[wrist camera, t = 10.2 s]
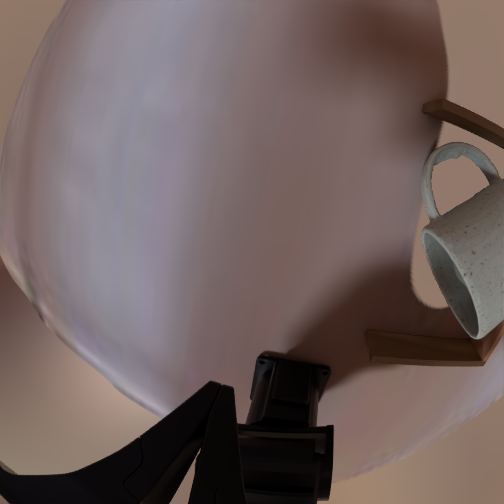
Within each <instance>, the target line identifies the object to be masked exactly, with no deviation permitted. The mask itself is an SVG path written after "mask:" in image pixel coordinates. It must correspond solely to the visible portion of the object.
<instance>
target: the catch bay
mask: <svg viewBox="0 0 504 504" xmlns="http://www.w3.org/2000/svg"><path fill="white" fill-rule="evenodd" d="M423 113H425V114H427V115H430V116H433V117H435V118H438V119H441V120H443V121H446V122H448V123H451V124H453V125H456V126H458V127H460V128H462V129H465V130H467V131H470V132H471V133H474V134H476V135H478V136H480V137H482V138H484V139H486V140H488V141H490V142H492V143H494V144H496V145H498V146H499V147H501V148H503V149H504V129H503V128H502V127H500V126H498V125H496V124H495V123H493V122H491V121H489V120H487V119H486V118H483V117H482V116H480V115H478V114H476V113H474V112H472V111H470V110H467V109H466V108H463V107H461V106H459V105H457V104H454V103H452V102H450V101H448V100H445V99H440V100H436V101H433V102H429V103H426V104H423ZM503 334H504V320H503V321H502V322H500V323H499V324H498V325H497V326H496V327H495V328H493V329H492V330H491V331H490V332H489V333H488V334H486V335H485V336H484V337H483V338H481V339H474V338H472V339H471V340H463V339H449V338H436V337H425V336H415V335H406V334H397V333H388V332H380V331H372V330H368V331H367V333H366V341H367V346H368V351H369V357H370V362H379V363H390V364H403V365H421V366H484V364H485V363H486V361H487V360H488V358H489V357H490V355H491V354H492V352H493V350H494V349H495V347H496V346H497V344H498V342H499V341H500V339H501V337H502V335H503Z"/></svg>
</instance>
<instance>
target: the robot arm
mask: <svg viewBox="0 0 504 504" xmlns="http://www.w3.org/2000/svg"><path fill="white" fill-rule="evenodd" d="M263 361H264V362H263ZM324 371H326V372H324ZM330 374H331V369H330V368H329V367H327V366H321V365H314V364H308V363H301V362H296V361H290V360H284V359H279V358H273V357H268V356H263V355H261V356H258V358H257V360H256V366H255V372H254V377H253V383H252V389H251V394H250V399H251V400H252V402H251V406H250V409H249V413H248V416H247V420H246V423H245V424H239V423H237V418H236V407H235V395H234V388H233V387H231V386H228V385H221V383H218V382H214V381H209V382H208V383H206V384H205V385H204V386H203V387H202V388H200V389H199V390H198V391H197V392H196V393H194V394H193V395H192V396H191V397H190V398H188V399H187V400H186V401H185V402H183V403H182V404H181V405H180V406H178V407H177V408H176V409H175V410H173V411H172V412H171V413H170V414H168V415H167V416H166V417H164V418H163V419H162V420H161V421H159V422H158V423H157V424H155V425H154V426H153V427H151V428H150V429H149V430H147V431H146V432H145V433H143V434H142V435H141V436H140V438H139V437H138V438H136V439H135V440H134V441H132V442H131V443H129V444H128V445H126V446H125V447H123V448H122V449H120V450H119V451H117V452H115V453H113V454H111V455H110V456H107V457H105V458H103V459H101V460H99V461H97V462H95V463H93V464H91V465H88V466H86V467H84V468H82V469H79V470H77V471H74V472H70V473H65V474H54V475H18V474H17V473H15V472H14V471H13V470H11V469H10V468H9V467H7V466H6V465H4V463H2V462H1V461H0V504H169V503H170V502H171V500H172V498H173V496H174V495H175V493H176V491H177V490H178V488H179V486H180V484H181V482H182V481H183V479H184V477H185V475H186V474H187V472H188V470H189V468H190V466H191V464H192V463H193V461H194V459H195V457H196V455H197V453H198V452H199V449H200V448H201V450H200V453H199V454H198V456H197V458H196V463H195V475H194V480H193V484H192V488H191V492H190V497H189V502H188V504H317V501H328V500H329V496H330V490H331V481H332V470H333V443H334V425H327V426H320V427H317V413H318V400H319V398H320V396H321V394H322V392H323V390H324V388H325V385H326V383H327V381H328V379H329V377H330Z"/></svg>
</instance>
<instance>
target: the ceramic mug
mask: <svg viewBox="0 0 504 504" xmlns="http://www.w3.org/2000/svg"><path fill="white" fill-rule="evenodd" d="M460 155H464V156H466V157H467V158H469V159H471V160H472V161H473V162H475V164H476V165H477V166H478V167H480V169H481V170H482V172H483V173H484V174H485V176H486V178H487V180H488V181H489V184H490V185H489V186H487V187H486V188H484V189H482V190H481V191H480V192H478V193H476V194H475V195H474V196H473V197H472V198H470V199H469V200H467V201H465V202H464V203H462V204H460V205H459V206H456V207H455V208H453V209H452V210H450V211H449V212H447V213H445V214H444V215H442V216H441V215H440V214H439V212H438V210H437V208H436V204H435V200H434V196H433V192H432V188H431V178H432V171H433V166H434V165H437V164H438V163H440V162H442V161H444V160H447V159H450V158H458V157H459V156H460ZM421 192H422V197H423V201H424V205H425V208H426V211H427V214H428V216H429V218H430V223H429V224H428V225H427V226H425V227H424V228H423V230H422V234H421V236H422V244H423V248H424V250H425V253H426V257H427V260H428V263H429V265H430V267H431V270H432V272H433V275H434V276H435V279H436V281H437V283H438V285H439V287H440V290H441V291H442V294H443V295H444V297H445V300H446V302H447V304H448V305H449V307H450V308H451V310H452V312H453V314H454V315H455V317H456V319H457V320H458V321H459V323H460V324H461V326H462V327H463V328H464V330H465V331H466V332H467V333H468V334H469V336H470V337H472V338H474V339H481V338H483V337H484V336H485V335H486V334H488V333H489V332H490V331H491V330H492V329H493V328H495V327H496V326H497V325H498V324H499V323H500V322H502V321H503V320H504V179H501V178H500V177H499V174H498V171H497V170H496V168H495V166H494V165H493V164H492V162H491V161H490V159H489V158H488V157H487V156H486V155H485V154H484V153H483V152H482V151H481V150H479V149H478V148H477V147H474V146H472V145H470V144H467V143H463V142H451V143H448V144H445V145H442V146H440V147H438V148H437V149H436V150H435V151H433V152H432V153H431V155H430V156H429V158H428V160H427V161H426V163H425V165H424V167H423V170H422V175H421Z"/></svg>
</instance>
